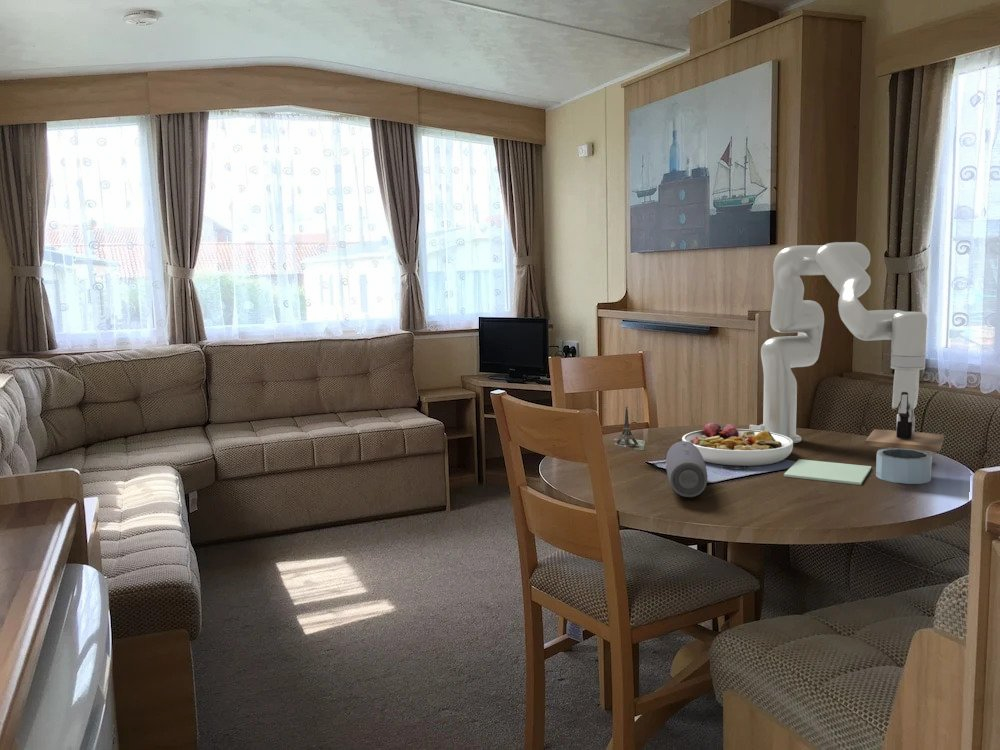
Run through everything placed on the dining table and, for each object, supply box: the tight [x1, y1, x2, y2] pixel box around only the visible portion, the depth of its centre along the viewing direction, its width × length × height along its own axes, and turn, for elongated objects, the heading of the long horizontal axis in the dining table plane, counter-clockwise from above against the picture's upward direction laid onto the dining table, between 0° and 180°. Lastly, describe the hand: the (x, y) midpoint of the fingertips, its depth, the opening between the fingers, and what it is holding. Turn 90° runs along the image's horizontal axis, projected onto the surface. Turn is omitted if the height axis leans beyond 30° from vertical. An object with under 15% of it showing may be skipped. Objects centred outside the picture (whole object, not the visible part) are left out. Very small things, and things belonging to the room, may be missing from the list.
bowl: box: [681, 421, 794, 467], centre depth 226 cm, size 30×30×8 cm
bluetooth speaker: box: [665, 440, 708, 498], centre depth 193 cm, size 23×9×10 cm, turn 170°
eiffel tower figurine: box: [613, 405, 646, 451], centre depth 243 cm, size 15×10×13 cm
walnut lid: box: [864, 413, 945, 453], centre depth 197 cm, size 16×16×7 cm
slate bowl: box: [875, 448, 933, 485], centre depth 198 cm, size 12×12×6 cm
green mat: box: [783, 458, 872, 486], centre depth 205 cm, size 18×18×1 cm
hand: (905, 435), depth 197 cm, fingers closed on walnut lid, 4 cm apart
